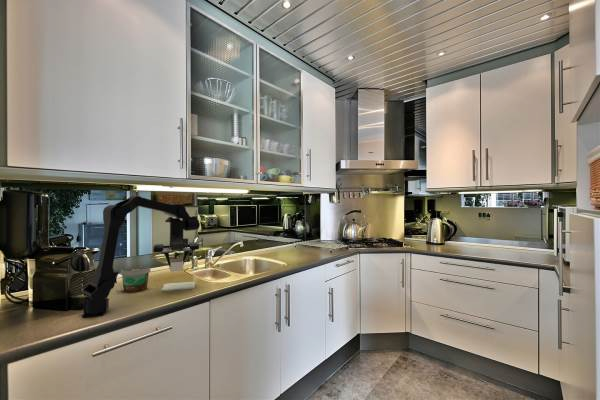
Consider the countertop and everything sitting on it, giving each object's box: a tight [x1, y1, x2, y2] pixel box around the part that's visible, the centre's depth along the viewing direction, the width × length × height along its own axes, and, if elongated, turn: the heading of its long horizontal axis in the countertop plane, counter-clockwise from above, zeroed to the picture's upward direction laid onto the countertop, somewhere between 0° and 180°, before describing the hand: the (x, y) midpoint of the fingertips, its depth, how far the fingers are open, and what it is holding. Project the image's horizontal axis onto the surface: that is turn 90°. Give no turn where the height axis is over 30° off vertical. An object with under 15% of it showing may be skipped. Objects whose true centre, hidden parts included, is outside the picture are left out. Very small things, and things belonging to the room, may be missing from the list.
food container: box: [119, 267, 151, 294], centre depth 125 cm, size 12×6×10 cm, turn 105°
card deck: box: [168, 258, 184, 273], centre depth 125 cm, size 5×7×4 cm
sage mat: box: [161, 281, 196, 292], centre depth 132 cm, size 14×10×1 cm
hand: (176, 265), depth 125 cm, fingers closed on card deck, 5 cm apart
